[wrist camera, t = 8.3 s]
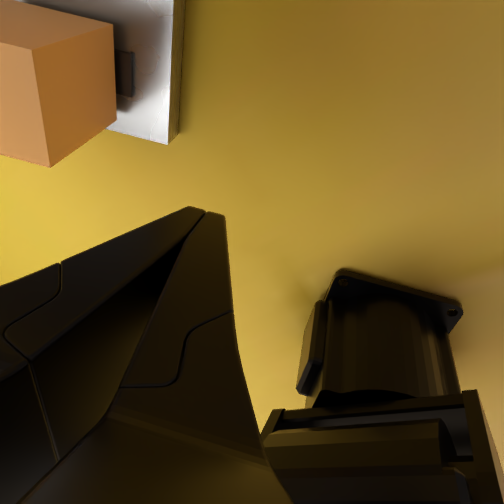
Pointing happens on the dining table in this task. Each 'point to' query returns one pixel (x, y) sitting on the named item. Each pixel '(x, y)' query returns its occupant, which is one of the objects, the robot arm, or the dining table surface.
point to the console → (140, 60)
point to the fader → (53, 82)
